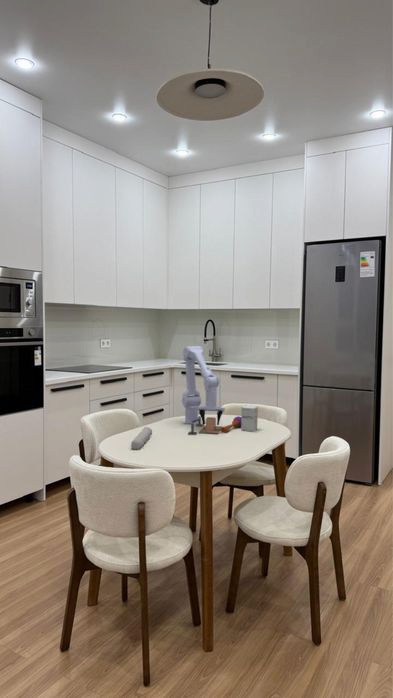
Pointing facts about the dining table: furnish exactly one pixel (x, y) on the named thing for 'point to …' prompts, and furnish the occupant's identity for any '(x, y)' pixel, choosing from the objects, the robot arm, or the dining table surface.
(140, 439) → the tube
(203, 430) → the walnut board
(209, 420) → the block
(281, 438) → the dining table surface
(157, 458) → the dining table surface
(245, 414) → the supplement box
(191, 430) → the grey door handle
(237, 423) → the kendama
